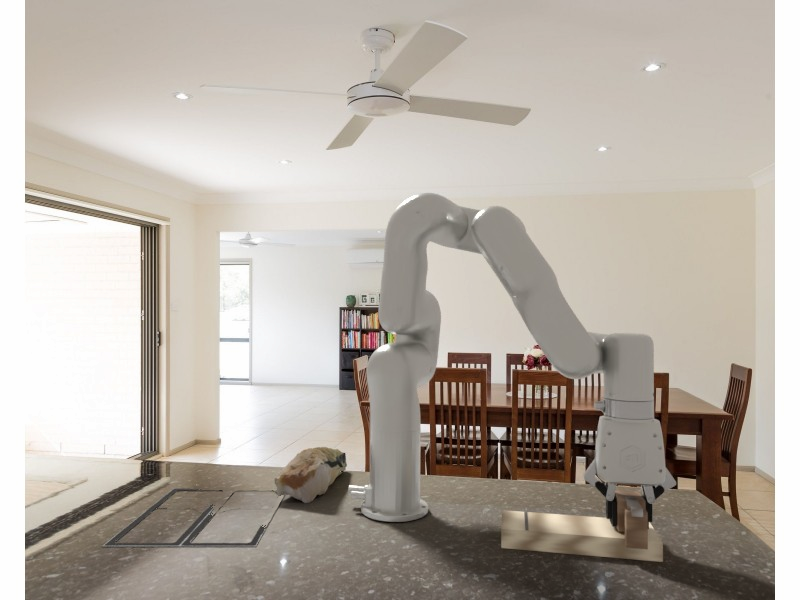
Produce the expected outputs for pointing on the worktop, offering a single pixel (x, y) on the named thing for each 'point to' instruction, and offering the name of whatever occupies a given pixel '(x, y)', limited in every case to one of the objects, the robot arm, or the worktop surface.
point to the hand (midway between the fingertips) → (628, 523)
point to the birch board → (573, 536)
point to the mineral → (310, 473)
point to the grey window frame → (186, 536)
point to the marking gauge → (632, 518)
